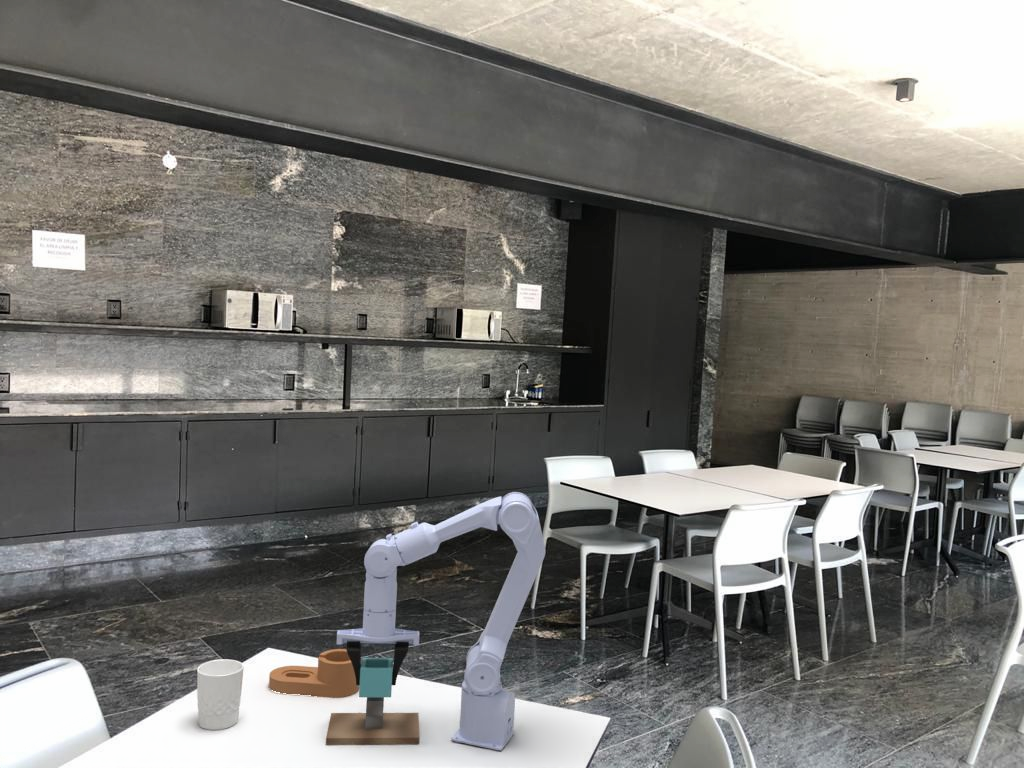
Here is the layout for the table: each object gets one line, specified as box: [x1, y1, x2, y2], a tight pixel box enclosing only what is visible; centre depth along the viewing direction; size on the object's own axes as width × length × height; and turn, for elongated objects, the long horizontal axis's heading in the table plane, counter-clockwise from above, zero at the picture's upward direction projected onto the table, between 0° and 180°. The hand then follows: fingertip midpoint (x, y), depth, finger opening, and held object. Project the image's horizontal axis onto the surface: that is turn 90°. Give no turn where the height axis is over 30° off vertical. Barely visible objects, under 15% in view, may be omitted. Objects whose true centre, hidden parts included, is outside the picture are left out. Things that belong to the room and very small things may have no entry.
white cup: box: [196, 658, 245, 731], centre depth 147 cm, size 8×8×10 cm
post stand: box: [325, 697, 420, 746], centre depth 147 cm, size 16×10×6 cm, turn 97°
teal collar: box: [358, 657, 394, 698], centre depth 147 cm, size 6×6×5 cm
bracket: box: [268, 648, 360, 699], centre depth 165 cm, size 18×8×7 cm, turn 87°
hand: (376, 683), depth 147 cm, fingers closed on teal collar, 6 cm apart
